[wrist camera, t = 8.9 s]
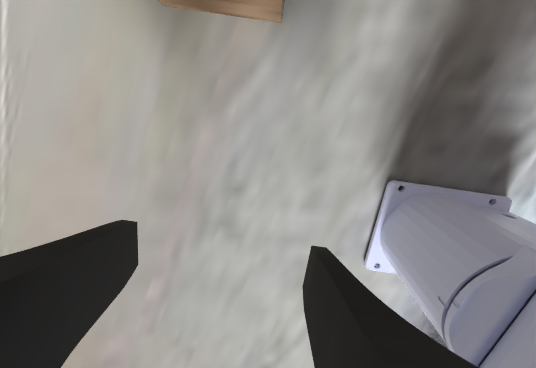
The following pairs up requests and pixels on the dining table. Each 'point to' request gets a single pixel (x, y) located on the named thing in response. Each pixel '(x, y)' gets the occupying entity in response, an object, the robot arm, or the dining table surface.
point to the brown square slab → (234, 7)
